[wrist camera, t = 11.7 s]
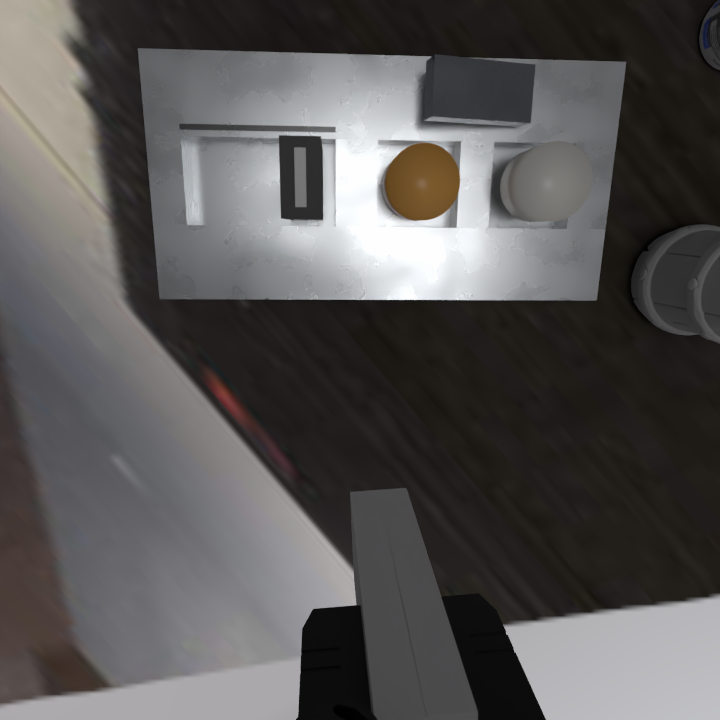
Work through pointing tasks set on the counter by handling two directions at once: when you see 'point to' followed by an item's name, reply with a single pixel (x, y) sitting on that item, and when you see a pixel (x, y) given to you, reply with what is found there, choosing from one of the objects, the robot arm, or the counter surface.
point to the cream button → (546, 182)
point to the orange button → (421, 182)
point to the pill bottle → (711, 36)
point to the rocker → (478, 91)
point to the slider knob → (301, 177)
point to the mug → (681, 282)
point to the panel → (360, 180)
